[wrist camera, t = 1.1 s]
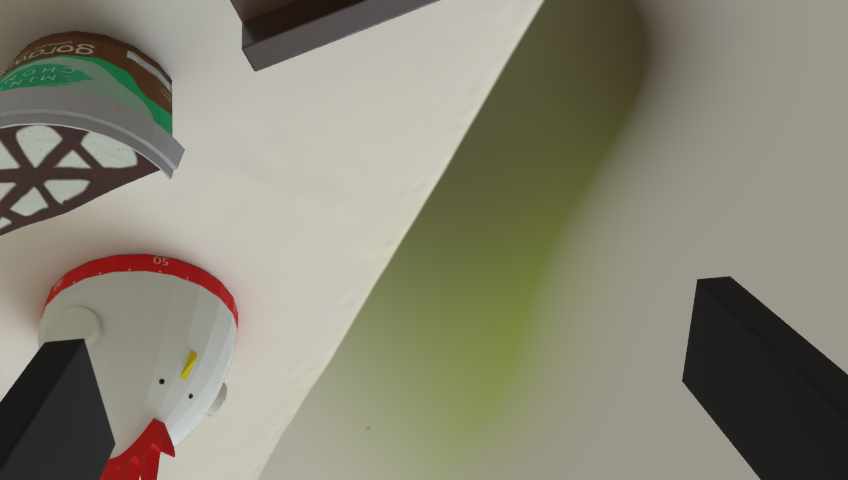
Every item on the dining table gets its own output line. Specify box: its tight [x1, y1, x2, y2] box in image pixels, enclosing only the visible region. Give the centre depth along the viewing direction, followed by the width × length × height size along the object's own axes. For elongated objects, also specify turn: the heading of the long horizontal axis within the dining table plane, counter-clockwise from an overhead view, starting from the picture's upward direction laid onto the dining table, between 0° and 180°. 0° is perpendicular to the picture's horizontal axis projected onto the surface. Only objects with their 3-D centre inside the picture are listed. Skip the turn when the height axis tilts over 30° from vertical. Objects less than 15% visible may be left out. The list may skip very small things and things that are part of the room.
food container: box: [0, 31, 185, 236], centre depth 33 cm, size 12×6×10 cm, turn 109°
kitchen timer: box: [38, 254, 238, 480], centre depth 46 cm, size 14×14×15 cm
